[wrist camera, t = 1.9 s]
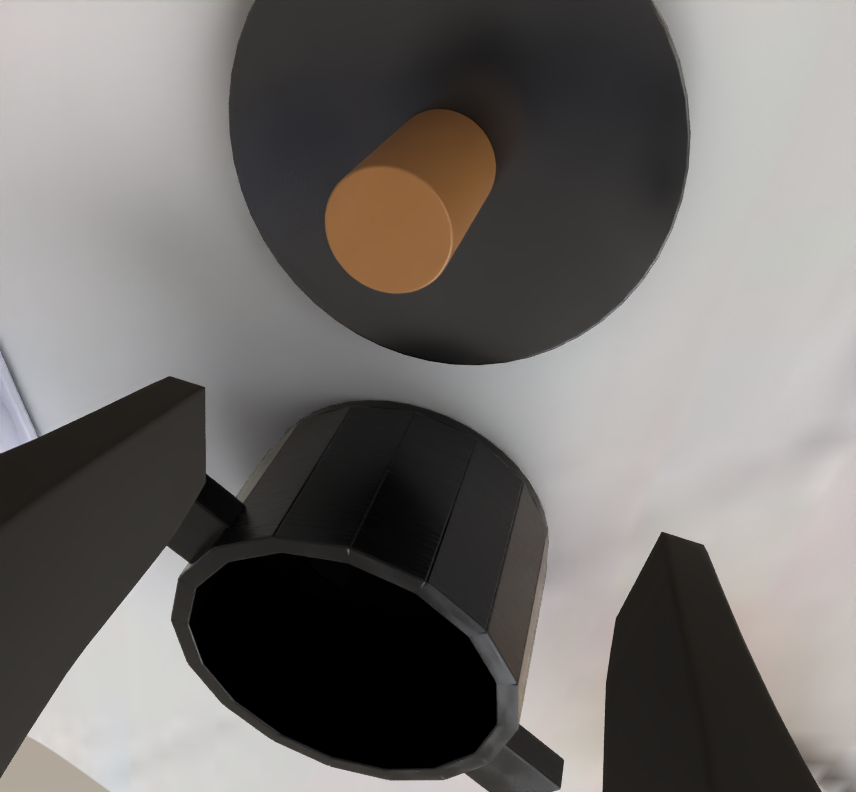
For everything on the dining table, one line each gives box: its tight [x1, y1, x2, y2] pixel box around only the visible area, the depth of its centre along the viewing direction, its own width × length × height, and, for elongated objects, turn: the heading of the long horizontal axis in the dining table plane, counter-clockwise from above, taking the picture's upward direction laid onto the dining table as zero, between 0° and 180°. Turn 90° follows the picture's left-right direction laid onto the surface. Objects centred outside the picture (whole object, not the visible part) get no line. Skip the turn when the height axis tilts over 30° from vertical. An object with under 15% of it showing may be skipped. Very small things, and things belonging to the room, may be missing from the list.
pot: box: [167, 400, 564, 792], centre depth 24 cm, size 10×16×6 cm, turn 49°
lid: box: [229, 0, 691, 365], centre depth 17 cm, size 11×11×6 cm
